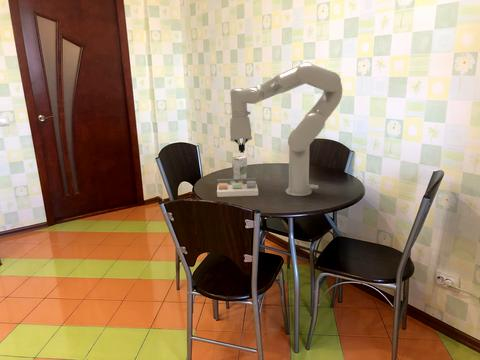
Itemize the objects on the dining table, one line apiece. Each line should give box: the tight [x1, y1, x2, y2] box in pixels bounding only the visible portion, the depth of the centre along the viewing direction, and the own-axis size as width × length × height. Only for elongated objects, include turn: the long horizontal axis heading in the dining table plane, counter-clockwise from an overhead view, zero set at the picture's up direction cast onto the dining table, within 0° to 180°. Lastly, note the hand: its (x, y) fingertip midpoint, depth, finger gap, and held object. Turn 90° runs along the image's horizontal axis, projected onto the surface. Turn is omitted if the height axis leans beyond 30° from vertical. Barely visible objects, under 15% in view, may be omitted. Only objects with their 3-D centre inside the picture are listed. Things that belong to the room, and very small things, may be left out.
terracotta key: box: [218, 183, 228, 189], centre depth 187 cm, size 5×5×2 cm
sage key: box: [232, 183, 242, 188], centre depth 188 cm, size 5×5×2 cm
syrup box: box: [231, 155, 248, 179], centre depth 204 cm, size 6×6×14 cm
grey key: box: [246, 180, 257, 186], centre depth 188 cm, size 5×5×2 cm
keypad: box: [216, 177, 259, 198], centre depth 189 cm, size 20×14×5 cm
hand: (242, 152), depth 186 cm, fingers closed
